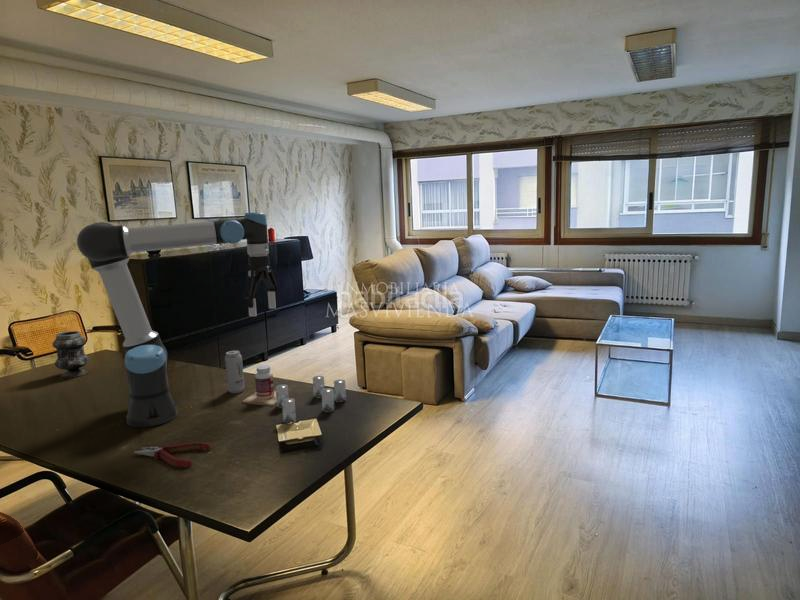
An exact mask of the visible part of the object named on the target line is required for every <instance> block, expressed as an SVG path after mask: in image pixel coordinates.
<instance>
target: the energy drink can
mask: <svg viewBox="0 0 800 600" xmlns="http://www.w3.org/2000/svg"><path fill="white" fill-rule="evenodd" d="M240 352H241V351H240V350H230V351H227V352H225V356H224V365H225V375H226V377H225V378H226V385H227V391H228V392H229V393H230V394H239V393H241V392H243V391H244V389H245V379H244V376H245V375H244V367H243V366H244V365H243V357H242V354H241V353H240Z"/></svg>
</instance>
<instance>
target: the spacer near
mask: <svg viewBox="0 0 800 600" xmlns="http://www.w3.org/2000/svg"><path fill="white" fill-rule="evenodd" d="M281 409H282V421H283V424H285V423H290V422H295V423H296V422H297V415H296V414H297V413H296V400H295V398H289V397H288V398H287V399H284V400H282V408H281Z"/></svg>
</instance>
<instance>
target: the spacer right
mask: <svg viewBox="0 0 800 600" xmlns="http://www.w3.org/2000/svg"><path fill="white" fill-rule="evenodd" d="M321 394H322V398H321V406H322V408H321V410H322V411H323V410H324V411H331V410H334V409H335V397H334V388H330V387H329V388H328V387H327V388H325V389H323V390H321ZM334 411H335V410H334Z"/></svg>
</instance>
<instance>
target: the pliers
mask: <svg viewBox="0 0 800 600" xmlns="http://www.w3.org/2000/svg"><path fill="white" fill-rule="evenodd" d="M140 449H141V450H137V451H133V453H134V454H138V455H142V456H148V457H154V460H155V461H156V460H159V459H161V460H163V461H164V462H166V464H169V466H172V467H175V468H185V469H186V468H191V467H192V466H193V465H192V464H193V463H192V461H191V459H189V458H178V457H175V456H174V455H172V454H177V453H182V452H183V453H184V452H187V451H195V450H196V451H199V450H200V451H211V450H212V446H211V444H210V443H209V442H201V441H200V442H199V441H198V442H197V441H195V442H188V443H187V442H186V443H181V444H174V445H169V443H167V444H165V445H163V446H162V447H160V446H148V447H146V446H144V447H140Z"/></svg>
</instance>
